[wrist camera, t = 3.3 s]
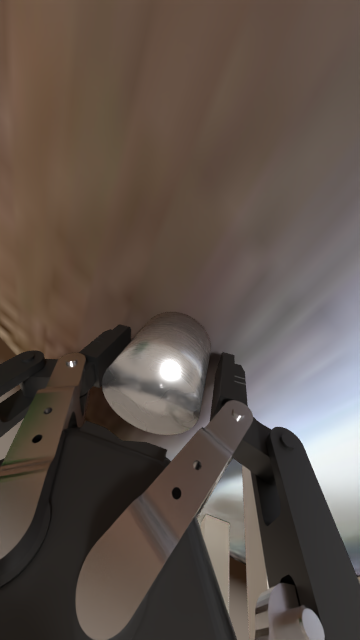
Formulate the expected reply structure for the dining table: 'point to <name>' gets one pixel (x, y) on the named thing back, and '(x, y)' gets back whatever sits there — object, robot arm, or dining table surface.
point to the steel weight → (161, 375)
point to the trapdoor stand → (256, 573)
